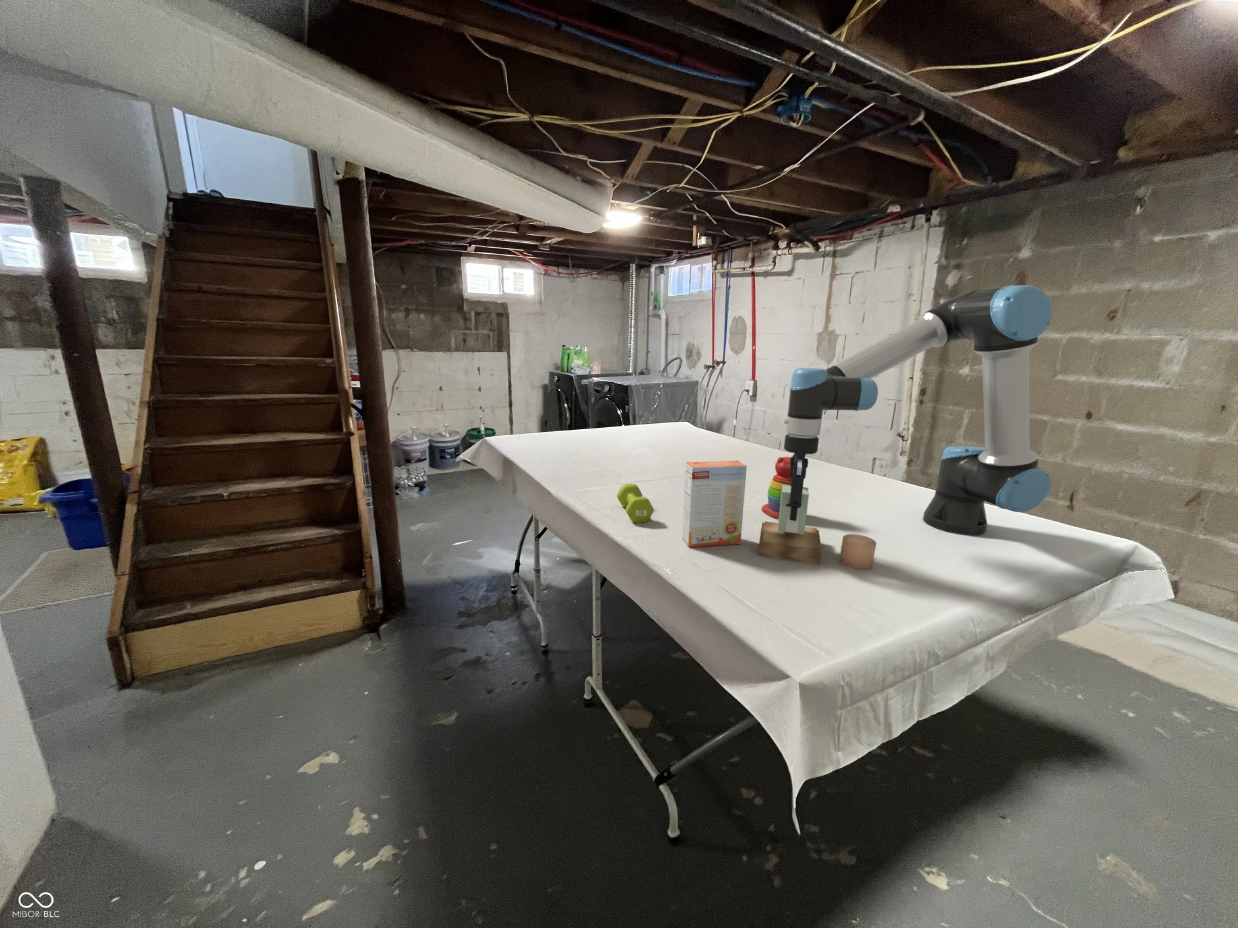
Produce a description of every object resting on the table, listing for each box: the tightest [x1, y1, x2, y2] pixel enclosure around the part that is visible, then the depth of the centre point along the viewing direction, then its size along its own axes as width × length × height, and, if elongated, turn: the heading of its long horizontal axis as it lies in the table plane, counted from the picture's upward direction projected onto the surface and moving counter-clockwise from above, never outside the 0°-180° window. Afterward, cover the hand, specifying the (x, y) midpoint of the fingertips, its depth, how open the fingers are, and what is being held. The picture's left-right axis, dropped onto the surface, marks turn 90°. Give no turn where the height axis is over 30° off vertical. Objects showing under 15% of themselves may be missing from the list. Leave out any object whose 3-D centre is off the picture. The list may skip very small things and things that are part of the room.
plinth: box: [757, 521, 823, 566], centre depth 121 cm, size 14×14×4 cm
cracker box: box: [682, 460, 748, 548], centre depth 122 cm, size 14×6×21 cm, turn 100°
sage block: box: [777, 485, 810, 534], centre depth 119 cm, size 6×6×10 cm
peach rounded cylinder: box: [838, 533, 877, 572], centre depth 113 cm, size 7×7×6 cm
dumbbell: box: [616, 483, 654, 524], centre depth 142 cm, size 16×8×7 cm, turn 11°
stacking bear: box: [761, 456, 792, 520], centre depth 142 cm, size 11×10×18 cm
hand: (791, 526), depth 120 cm, fingers closed on sage block, 6 cm apart
